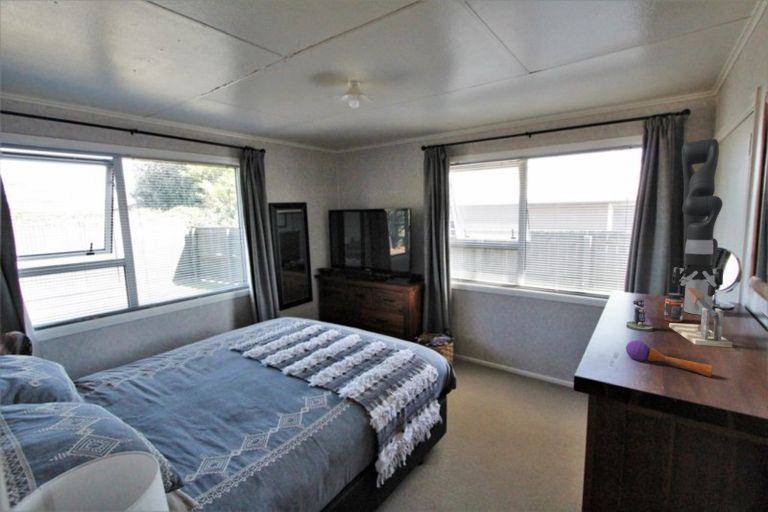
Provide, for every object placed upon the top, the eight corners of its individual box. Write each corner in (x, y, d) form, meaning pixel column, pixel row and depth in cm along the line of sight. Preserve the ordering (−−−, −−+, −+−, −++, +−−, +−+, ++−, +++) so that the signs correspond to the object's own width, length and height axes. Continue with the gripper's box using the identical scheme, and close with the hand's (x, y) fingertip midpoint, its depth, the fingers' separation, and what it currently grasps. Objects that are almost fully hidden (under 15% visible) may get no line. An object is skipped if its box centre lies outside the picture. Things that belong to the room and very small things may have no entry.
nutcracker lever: (715, 324, 120) (719, 313, 118) (706, 323, 121) (709, 313, 119) (693, 297, 134) (696, 288, 132) (685, 297, 135) (687, 287, 133)
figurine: (621, 326, 141) (623, 297, 139) (634, 323, 144) (635, 294, 143) (645, 332, 133) (646, 301, 132) (657, 329, 137) (659, 298, 136)
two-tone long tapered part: (711, 367, 94) (624, 342, 109) (707, 386, 96) (622, 359, 111) (715, 357, 98) (630, 334, 113) (711, 375, 100) (628, 351, 115)
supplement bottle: (686, 322, 144) (688, 295, 143) (671, 322, 144) (673, 295, 143) (674, 318, 150) (676, 292, 149) (660, 318, 150) (661, 292, 149)
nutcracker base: (669, 326, 139) (671, 296, 138) (700, 328, 136) (702, 298, 135) (695, 344, 120) (697, 310, 119) (732, 347, 117) (735, 311, 116)
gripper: (717, 251, 130) (713, 294, 131) (670, 250, 134) (667, 292, 136) (729, 253, 123) (726, 299, 124) (679, 253, 127) (677, 297, 129)
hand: (695, 295), depth 130 cm, fingers open, 8 cm apart
